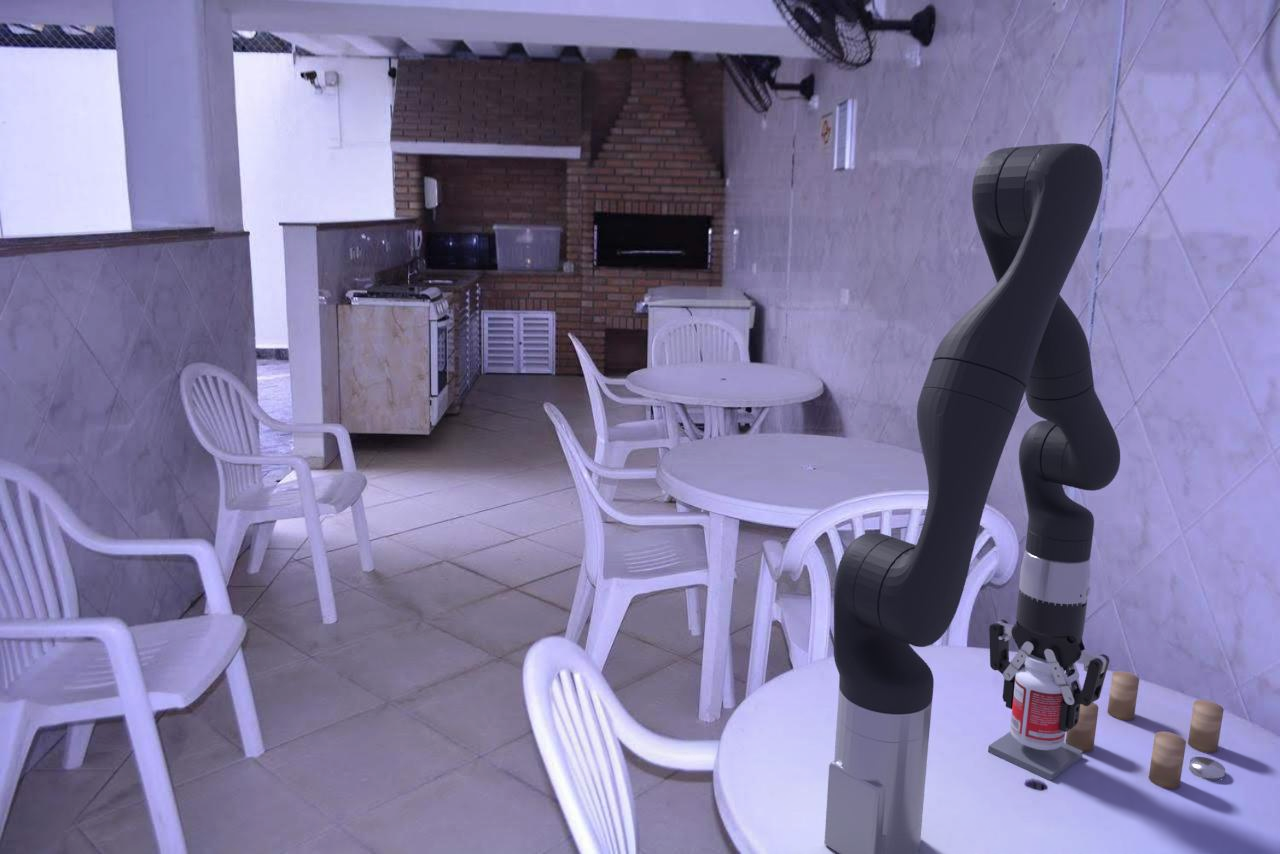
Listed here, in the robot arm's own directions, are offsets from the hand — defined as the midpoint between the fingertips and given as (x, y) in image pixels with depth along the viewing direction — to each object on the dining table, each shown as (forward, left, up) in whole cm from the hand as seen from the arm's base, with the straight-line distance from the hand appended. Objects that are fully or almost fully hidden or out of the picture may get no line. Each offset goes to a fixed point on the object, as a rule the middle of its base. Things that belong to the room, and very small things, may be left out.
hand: (1038, 717), depth 113 cm
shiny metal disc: (+13, -15, -5) cm, 20 cm away
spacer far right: (+19, -3, -5) cm, 19 cm away
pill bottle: (0, 0, -3) cm, 3 cm away
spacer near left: (+7, -13, -5) cm, 15 cm away
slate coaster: (0, 0, -5) cm, 5 cm away
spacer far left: (+19, -13, -5) cm, 23 cm away
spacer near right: (+7, -3, -5) cm, 9 cm away
